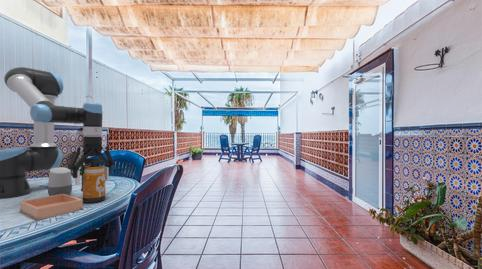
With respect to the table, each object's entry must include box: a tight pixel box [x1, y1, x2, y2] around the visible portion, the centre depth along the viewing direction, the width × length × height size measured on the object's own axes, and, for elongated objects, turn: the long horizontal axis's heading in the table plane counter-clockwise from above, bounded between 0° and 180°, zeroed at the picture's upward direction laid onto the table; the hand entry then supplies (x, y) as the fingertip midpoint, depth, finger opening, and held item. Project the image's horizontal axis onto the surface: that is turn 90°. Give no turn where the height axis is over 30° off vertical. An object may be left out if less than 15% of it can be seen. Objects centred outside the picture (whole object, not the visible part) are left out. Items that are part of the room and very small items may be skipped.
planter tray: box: [19, 194, 84, 221], centre depth 96 cm, size 17×15×4 cm
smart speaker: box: [47, 166, 73, 196], centre depth 116 cm, size 10×9×14 cm
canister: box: [80, 156, 106, 204], centre depth 110 cm, size 9×11×20 cm
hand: (92, 182), depth 110 cm, fingers open, 12 cm apart
